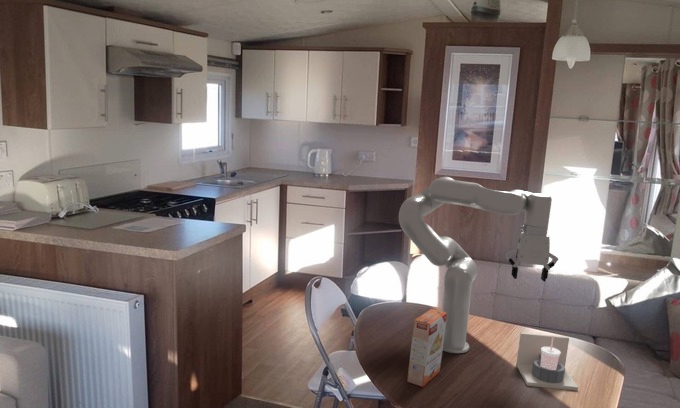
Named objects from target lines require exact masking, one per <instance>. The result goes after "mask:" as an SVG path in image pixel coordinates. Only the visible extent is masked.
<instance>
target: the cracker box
mask: <svg viewBox="0 0 680 408" xmlns="http://www.w3.org/2000/svg"><path fill="white" fill-rule="evenodd" d="M446 319H447V313H445V312H442V310H438V309H434V308H431V309H429V310H427V311H426V312H425V313H423V314H421V315H420V316H419V317H417V318H415V319H414V320H413V328H412V336H411V346H410V354H409V355H410V356H409V362H408V363H409V364H408V373H407V380H406V382H407V383H409V384H413V385H415V386H418V387H420V388H424V387H425V386H426V385H427V384H428V383H429V382H431V380H433V379H434V378H435V377H436V376H437V375H439V373H440V372H441V364H442V357H443V351H442V350H443V342H444V334H445V327H446Z"/></svg>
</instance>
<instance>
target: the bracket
mask: <svg viewBox="0 0 680 408" xmlns="http://www.w3.org/2000/svg"><path fill="white" fill-rule="evenodd" d="M552 336H554V338H553V345H552V347H553V348H556V349H558V350H559V351H560V352H561V353H560V356H559V359H558V364H557V368H556V370H549V369H546V368H543V367H541V353H542V352H541V348H542V347H551V341H552ZM569 343H570V338H569V336H563V335H553V334H543V333H533V332H532V333H531V332H520V336H519V341H518V349H517V356H516V357H517V358H516V364H515V366H516V367H517V369H518V371H519V373H520V375H521V377H522V378H523V380H524V383H525V384H526V386H528V387H537V388H538V387H539V388H547V389H558V390H565V391H567V390H568V391H576V392H577V391H579V386H578V384H577V383H576V382H575V380H574V379H573V378H572V376H571V375H570V373H569V372H568V370H567V369H566V362H567V355H568V350H569V349H568V348H569Z"/></svg>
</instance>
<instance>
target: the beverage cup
mask: <svg viewBox="0 0 680 408" xmlns="http://www.w3.org/2000/svg"><path fill="white" fill-rule="evenodd" d="M554 336H555V335H554ZM554 336H552V341H551V347H542V348H541V352H542V353H541V367H543V368H546V369H549V370H556V368H557V364H558V359H559V356H560V353H561V352H560V351H559V350H558V349H556V348H553V347H552V345H553V338H554Z"/></svg>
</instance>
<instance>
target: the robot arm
mask: <svg viewBox="0 0 680 408" xmlns="http://www.w3.org/2000/svg"><path fill="white" fill-rule="evenodd" d="M444 204H451V205H456V206H457V205H458V206H463V207H468V208H469V207H470V208H473V209H478V210H481V211H485V212H488V213H489V212H490V213H496V214H501V215H506V216H507V215H509V216H515V215H519V214H521V213H522V212H525V219H524V223H523V225H519V230H520V231H521V230H522V232H521V233H520V235H519V239H518V243H517V247H516V248H515V249H513V250H510V251H507V252H506V253H505V256H506V259H507V261H508V262H509V264H511V266H512V267H511V274H510V275H511V276H512V278H513V279H514V280H516V279H518V272H519V267H518V266H519V265H521V264H527V265H533V266H534V265H535V266H543V267H542V269H541V277H540V279H541V281H542V282H546V280H547V279H548V275H549V271H550V270H551V269H552V268H553V267H555V265H556V264H557V262H558V260H559V257H558V256H556V255H554V254H553V253H551V252H550V244H551V243H550V239H551V238H550V236H549V235H548V230H549V222H550V215H551V208H552V197H551V196H550V195H549V194H545V193H538V192H534V193H533V192H530V191H526V190H525V191H524V190H521V189H512V190H510V191H504V190H503V191H501V190H495V189H492V188H491V189H490V188H487V187H484V186H482V185H481V184H479V183H477V182H470V181H463V180H456V179H454V178H452V177H450V176H441V177H438V178H435V179H434V180H433V181H432V182H431V183H430V185H429V186H428V187H426V188H425V189H424V190H422V191H421V192H419V193H418V194H416V195H412V196H410V197H408V198H406V199H405V200H404V201H403V202H402V204H401V206H400V208H399V211H398V222H399V226H400V228H401V230H402V232H403V233H404V234H405V235H406V236H407V237H408V238H409V239H410V240H411V241H412V243H413V244H414V245H415V246H416V248H417V249H419V251H420V252H421V253H422V254H423V255H424V257H425V258H426V259H427V260H428V261H429V262H430V263H431V264H432V265H434V266H435V267H444V266H445V268H446V269H447V270H446V271H445V275H444V282H443V299H442V309H441V311H442V312H445V313H447V319H446V327H445V334H444V342H443V350H442V352H446V353H450V354H464V353H467V352H468V351H470V345H469V343H468V342H467V341H466V340H467V335H468V334H467V332H468V323H469V317H470V316H469V315H470V308H471V307H470V306H471V297H472V296H471V295H472V284H473V282H474V281H475V279H476V278H477V276H478V272H479V271H478V266H477V264H476V262H475V261H474V260H473V259H472V257H471V256H470V255H469V254H468V253H467V252H466V251H465V250H464V249H463V248H462V247H461V245H459V243H458V242H456V240H455V239H453V238H452V237H449V236H446V235H444V236H440V235H439V234H438V233H436V231H435V230H434V229H433V228H432V226H430V225H429V224H428V223H426V221H424V217H426V216H428V215H430V214H431V213H432V212H434V211H435V210H436V209H439V207H441V206H443V205H444ZM514 255H515V259H514V260H513V257H512V256H514ZM550 259H551V260H550ZM549 260H550V261H549Z"/></svg>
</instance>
